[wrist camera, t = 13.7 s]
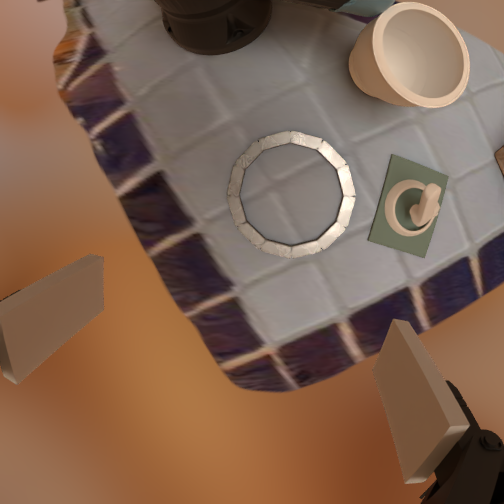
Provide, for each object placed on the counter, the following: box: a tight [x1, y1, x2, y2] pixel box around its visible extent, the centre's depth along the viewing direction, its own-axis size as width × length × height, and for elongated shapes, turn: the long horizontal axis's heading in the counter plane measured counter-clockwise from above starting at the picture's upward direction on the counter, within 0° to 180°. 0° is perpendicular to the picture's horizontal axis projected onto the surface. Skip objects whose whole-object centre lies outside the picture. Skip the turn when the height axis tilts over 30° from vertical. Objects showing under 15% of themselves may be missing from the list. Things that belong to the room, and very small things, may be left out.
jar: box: [349, 2, 470, 108], centre depth 27 cm, size 11×10×15 cm
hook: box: [385, 180, 441, 236], centre depth 35 cm, size 8×12×7 cm
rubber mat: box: [368, 154, 449, 258], centre depth 39 cm, size 12×9×1 cm
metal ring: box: [227, 131, 356, 259], centre depth 40 cm, size 16×16×1 cm
